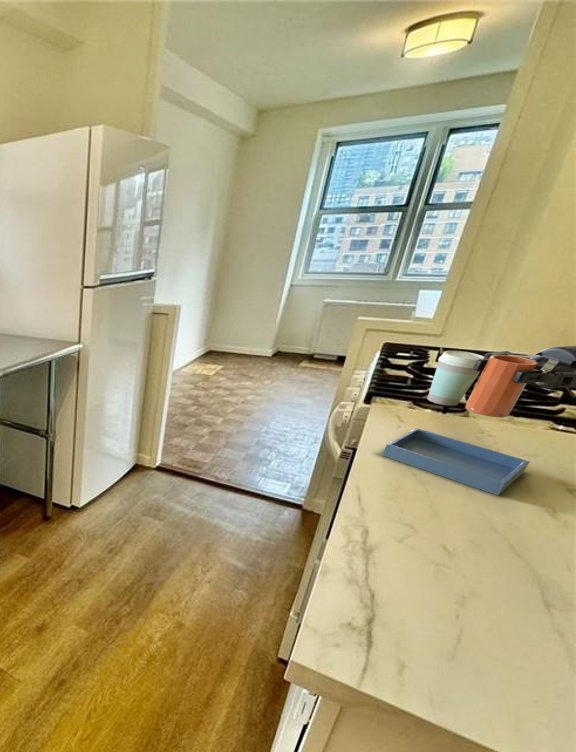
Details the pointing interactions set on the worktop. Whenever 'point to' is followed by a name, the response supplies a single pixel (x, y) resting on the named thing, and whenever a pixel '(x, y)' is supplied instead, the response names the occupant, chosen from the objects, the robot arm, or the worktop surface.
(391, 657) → the worktop surface
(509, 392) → the tumbler
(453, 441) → the tray
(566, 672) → the worktop surface
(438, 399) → the coffee cup
